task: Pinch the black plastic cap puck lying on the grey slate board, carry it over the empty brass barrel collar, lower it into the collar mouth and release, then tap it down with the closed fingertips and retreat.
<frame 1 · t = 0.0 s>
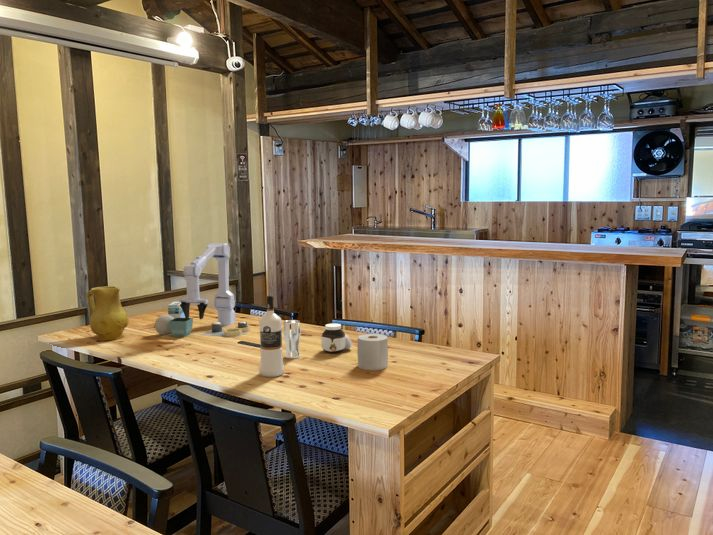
hand: (194, 318, 271), 10 cm above the table, fingers open, 7 cm apart
beer glass: (292, 357, 241), on the table
light bulb box: (177, 323, 310), on the table
pitcher: (109, 337, 279), on the table
cap: (216, 331, 284), point 1 cm above the table, touching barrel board
spread jar: (337, 351, 249), on the table
vodka: (272, 374, 217), on the table
flower pot: (181, 338, 276), on the table
toilet paper roll: (372, 366, 226), on the table
ball: (166, 335, 282), on the table
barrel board: (225, 335, 280), on the table
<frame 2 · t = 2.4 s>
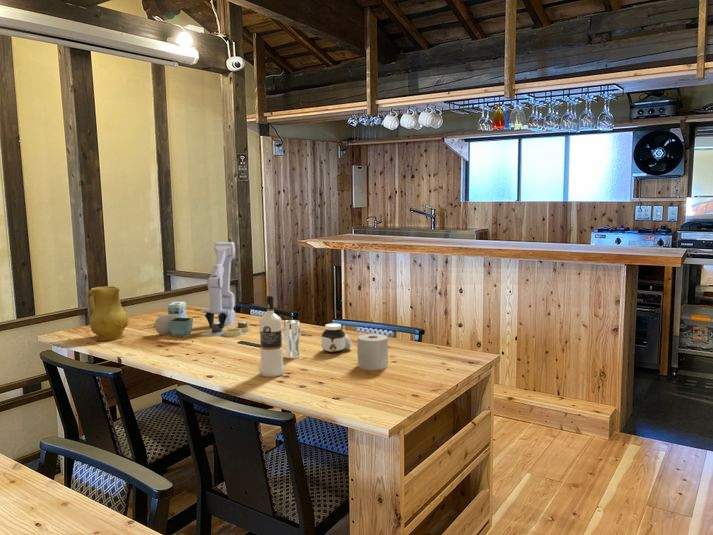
hand: (216, 328, 283), 3 cm above the table, fingers closed on cap, 5 cm apart
cap: (216, 331, 284), point 1 cm above the table, touching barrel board, gripper
everything else where it was.
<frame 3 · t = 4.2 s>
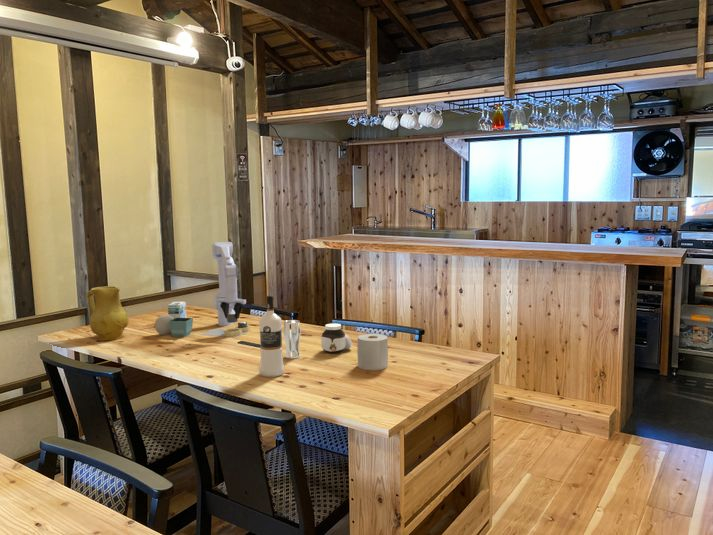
hand: (232, 318, 276), 9 cm above the table, fingers closed on cap, 5 cm apart
cap: (232, 321, 276), point 7 cm above the table, touching gripper
everything else where it was.
when the fingers open (4 cm above the table, at t = 6.0 s): cap stays where it is, resting on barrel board.
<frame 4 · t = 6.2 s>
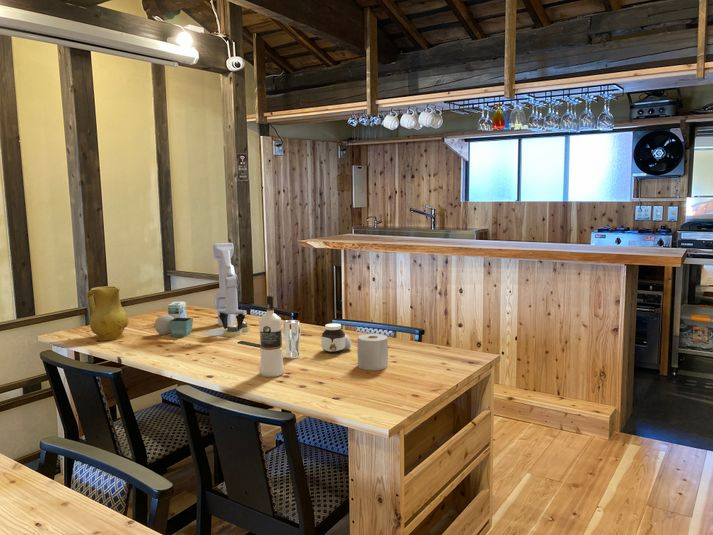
hand: (232, 328, 276), 4 cm above the table, fingers open, 7 cm apart
cap: (232, 334, 276), point 1 cm above the table, touching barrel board
everything else where it was.
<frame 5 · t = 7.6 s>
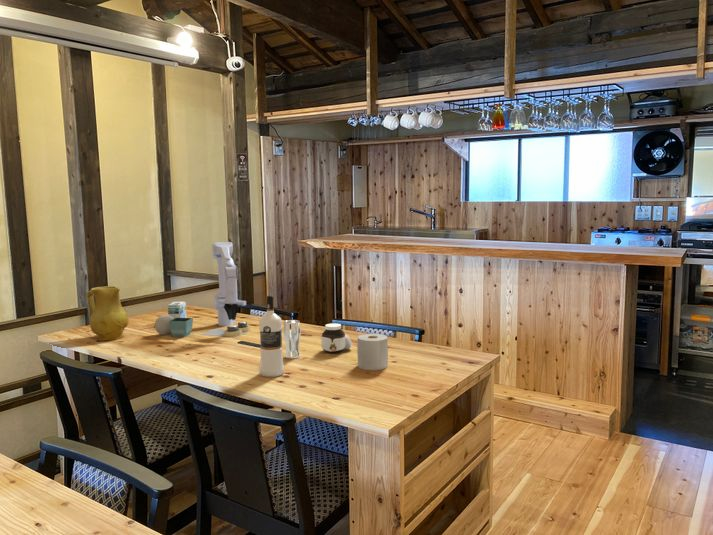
hand: (232, 319, 276), 8 cm above the table, fingers closed
nothing on the table moved.
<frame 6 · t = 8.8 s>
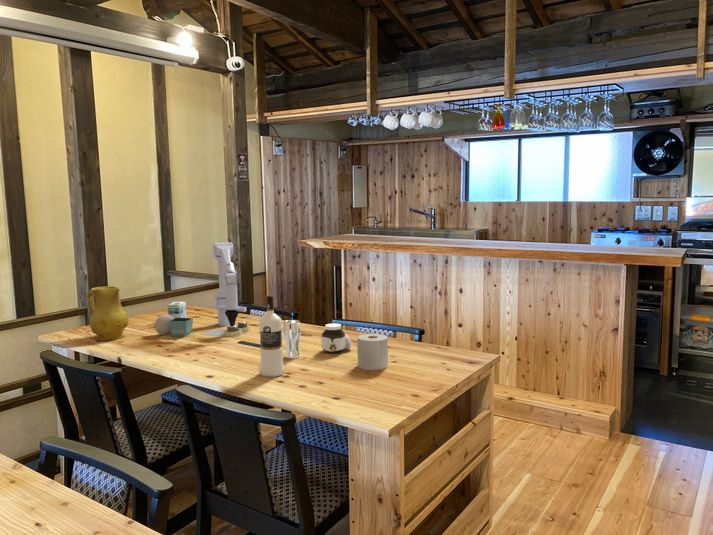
hand: (232, 325, 276), 5 cm above the table, fingers closed
nothing on the table moved.
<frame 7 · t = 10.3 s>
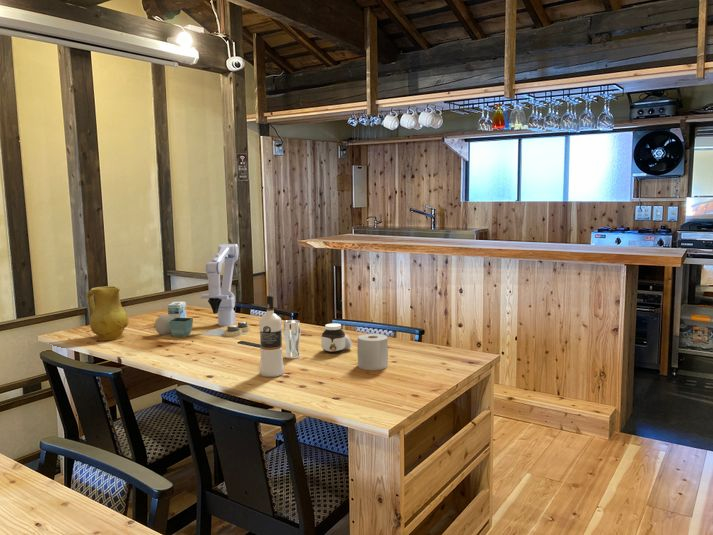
hand: (215, 313, 284), 10 cm above the table, fingers closed
nothing on the table moved.
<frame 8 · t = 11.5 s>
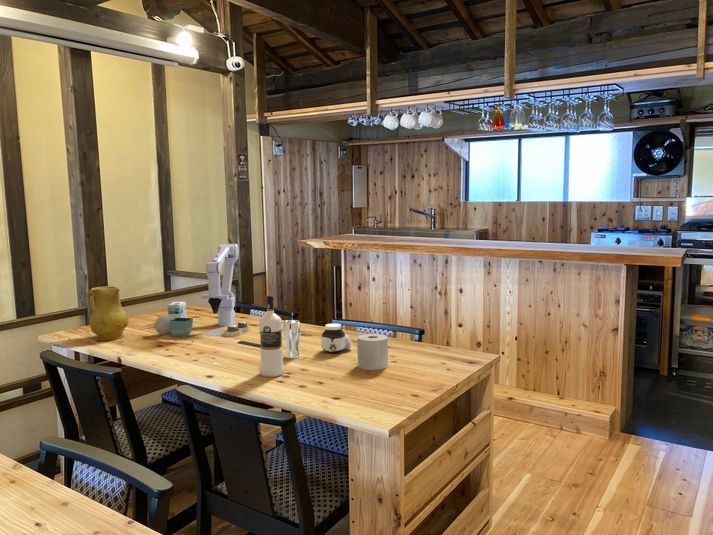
hand: (215, 313, 284), 10 cm above the table, fingers closed
nothing on the table moved.
at the end: cap 0.1 cm from the target spot, point 1.3 cm above the table; cap tilted 2°; the gripper is holding nothing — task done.
